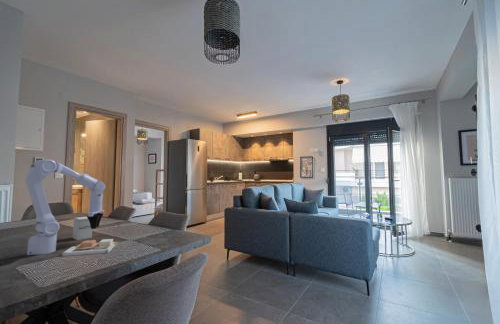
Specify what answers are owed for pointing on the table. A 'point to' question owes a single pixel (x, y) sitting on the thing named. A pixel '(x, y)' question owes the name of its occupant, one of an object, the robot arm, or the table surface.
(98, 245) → the oak board
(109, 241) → the cream tile
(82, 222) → the supplement box
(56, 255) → the table surface
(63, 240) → the table surface
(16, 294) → the table surface
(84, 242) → the terracotta tile
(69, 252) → the grey tray
